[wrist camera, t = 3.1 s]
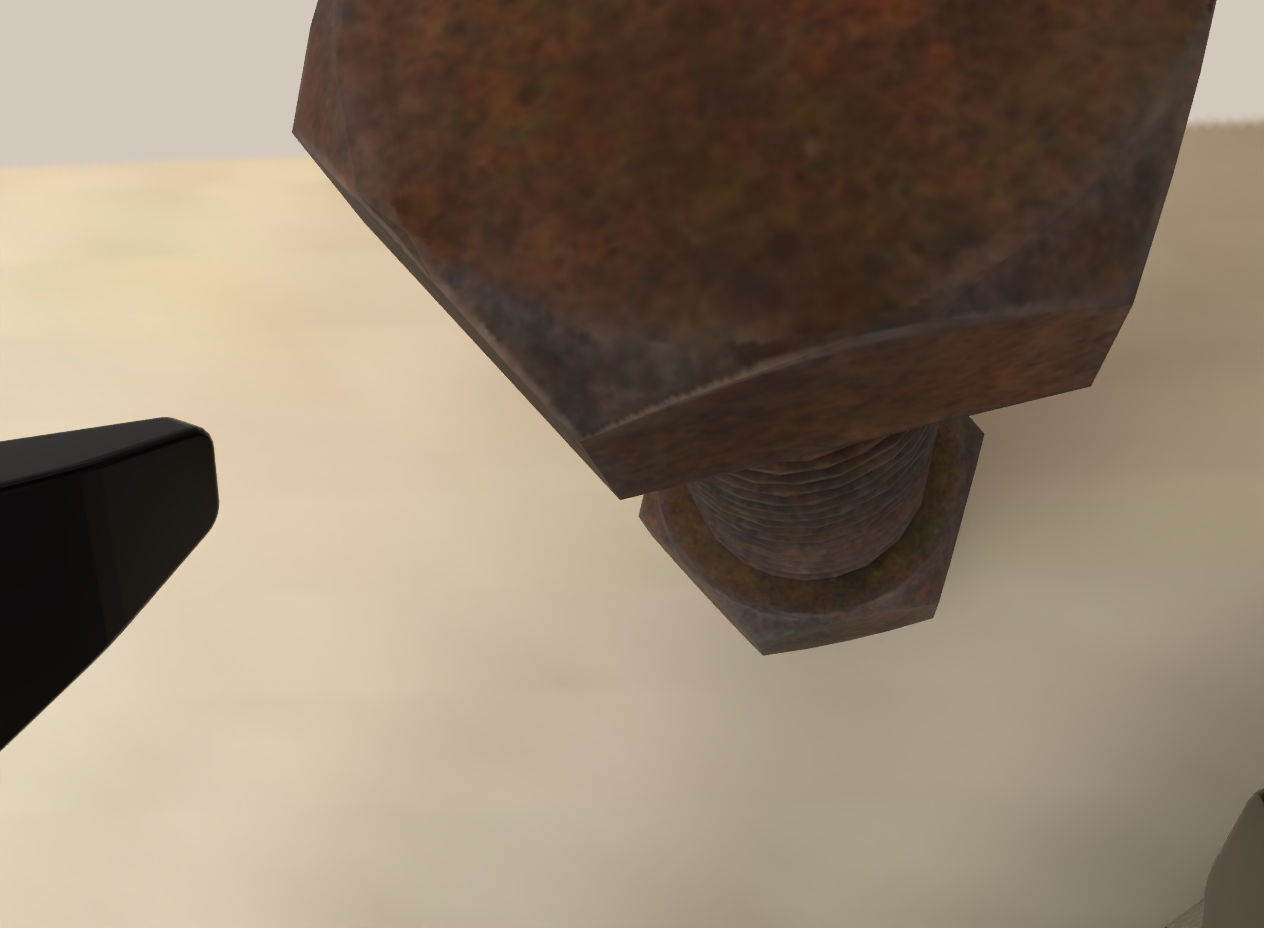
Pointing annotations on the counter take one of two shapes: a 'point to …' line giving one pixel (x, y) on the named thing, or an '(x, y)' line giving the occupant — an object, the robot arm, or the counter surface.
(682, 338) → the bolt
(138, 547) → the robot arm
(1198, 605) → the counter surface
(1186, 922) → the grey divided tray
